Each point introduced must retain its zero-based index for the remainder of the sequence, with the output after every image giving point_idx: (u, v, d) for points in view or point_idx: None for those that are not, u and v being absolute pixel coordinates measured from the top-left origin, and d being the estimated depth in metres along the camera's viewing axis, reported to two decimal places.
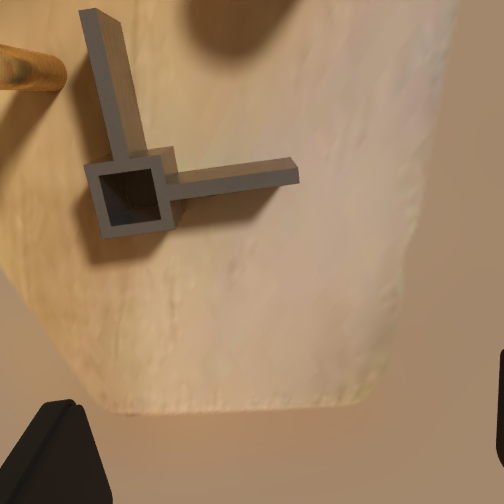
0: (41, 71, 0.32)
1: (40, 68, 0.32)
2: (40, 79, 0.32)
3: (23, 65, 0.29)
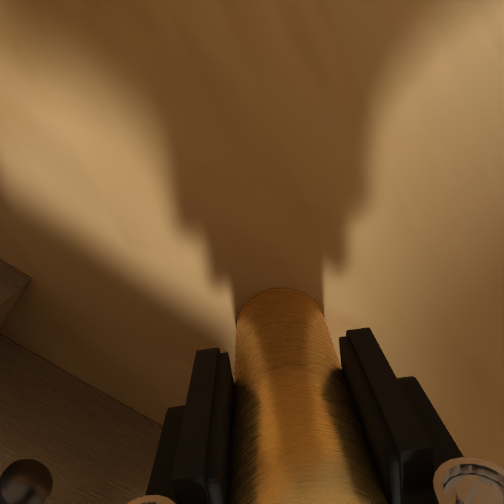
0: None
1: None
2: None
3: None
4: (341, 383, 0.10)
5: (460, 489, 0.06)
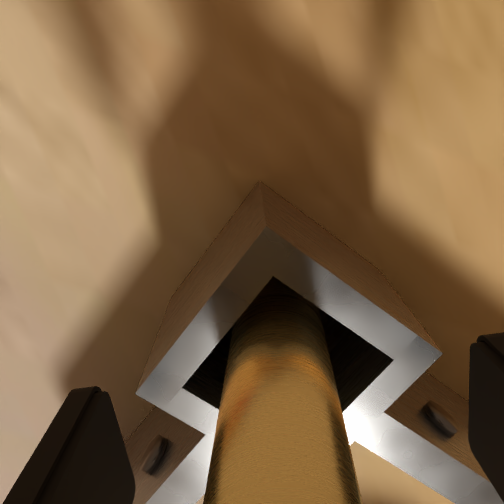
0: None
1: None
2: None
3: None
4: (313, 310, 0.13)
5: None
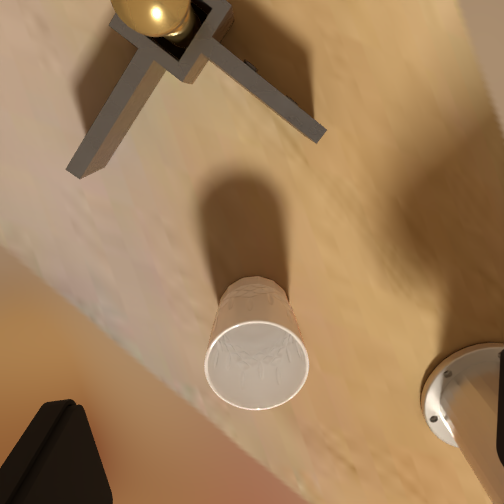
0: None
1: None
2: None
3: None
4: None
5: None
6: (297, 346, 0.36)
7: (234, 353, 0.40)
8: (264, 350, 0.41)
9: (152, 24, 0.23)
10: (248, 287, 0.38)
